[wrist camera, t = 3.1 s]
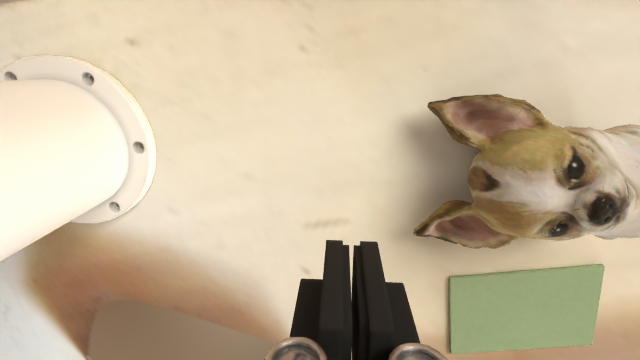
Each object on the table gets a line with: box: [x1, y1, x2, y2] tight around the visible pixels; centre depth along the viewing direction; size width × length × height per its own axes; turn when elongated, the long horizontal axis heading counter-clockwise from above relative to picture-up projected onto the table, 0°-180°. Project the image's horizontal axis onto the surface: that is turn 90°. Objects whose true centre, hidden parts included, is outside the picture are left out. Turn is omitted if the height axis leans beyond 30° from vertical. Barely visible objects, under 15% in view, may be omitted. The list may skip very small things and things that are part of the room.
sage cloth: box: [449, 264, 604, 354], centre depth 29 cm, size 12×8×1 cm, turn 98°
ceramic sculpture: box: [413, 94, 640, 248], centre depth 21 cm, size 11×9×15 cm
